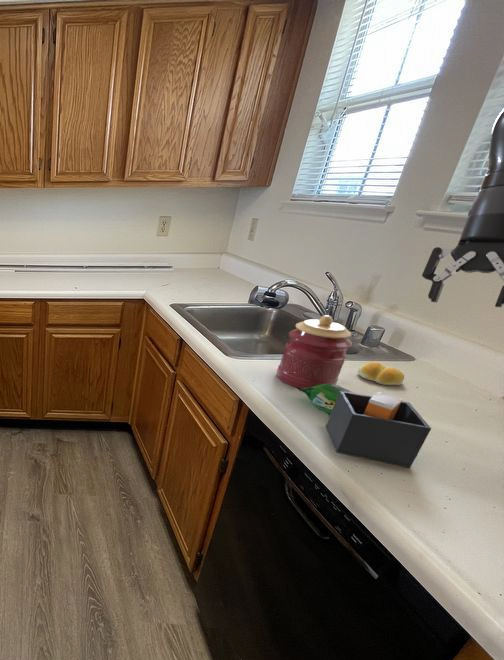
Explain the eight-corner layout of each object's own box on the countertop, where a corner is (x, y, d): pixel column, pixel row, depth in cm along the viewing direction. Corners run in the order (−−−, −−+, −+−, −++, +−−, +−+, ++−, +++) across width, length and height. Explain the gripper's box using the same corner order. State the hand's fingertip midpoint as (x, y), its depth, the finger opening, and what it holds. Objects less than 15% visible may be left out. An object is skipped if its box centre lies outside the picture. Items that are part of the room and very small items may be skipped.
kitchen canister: (298, 367, 116) (319, 305, 108) (347, 387, 105) (374, 320, 97) (264, 374, 112) (283, 310, 104) (311, 395, 101) (336, 326, 93)
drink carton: (381, 443, 82) (403, 398, 78) (372, 452, 80) (394, 406, 75) (359, 434, 85) (379, 391, 80) (350, 443, 82) (370, 398, 78)
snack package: (314, 394, 102) (321, 375, 99) (386, 427, 88) (396, 406, 86) (293, 399, 99) (300, 380, 97) (364, 434, 86) (374, 412, 84)
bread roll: (394, 389, 104) (401, 375, 102) (352, 376, 111) (358, 362, 109) (407, 381, 108) (414, 368, 106) (366, 369, 115) (372, 356, 113)
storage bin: (391, 439, 84) (409, 402, 81) (410, 468, 76) (431, 428, 72) (325, 426, 89) (339, 390, 85) (336, 452, 80) (353, 414, 77)
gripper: (559, 219, 73) (522, 311, 76) (446, 222, 84) (418, 302, 87) (559, 208, 69) (520, 306, 72) (440, 213, 80) (410, 298, 83)
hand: (464, 304), depth 80 cm, fingers open, 8 cm apart
